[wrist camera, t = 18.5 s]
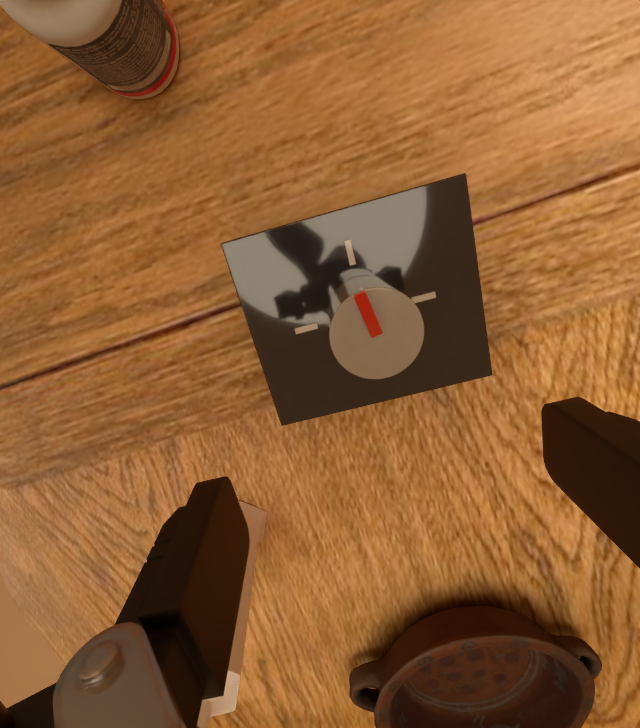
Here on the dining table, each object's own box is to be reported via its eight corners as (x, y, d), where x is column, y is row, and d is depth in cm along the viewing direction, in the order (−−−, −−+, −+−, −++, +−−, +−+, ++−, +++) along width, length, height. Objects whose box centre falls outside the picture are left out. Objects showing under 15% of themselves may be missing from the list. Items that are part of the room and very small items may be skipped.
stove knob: (411, 330, 23) (440, 359, 17) (345, 359, 24) (352, 396, 18) (384, 262, 22) (405, 270, 16) (315, 295, 22) (313, 313, 17)
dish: (583, 695, 38) (620, 761, 33) (366, 727, 39) (373, 794, 35) (579, 563, 32) (624, 618, 28) (329, 606, 34) (331, 665, 29)
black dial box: (285, 407, 28) (281, 427, 25) (232, 242, 24) (219, 243, 21) (474, 360, 27) (494, 376, 24) (448, 180, 23) (467, 172, 20)
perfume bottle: (283, 530, 31) (252, 772, 17) (238, 549, 32) (171, 797, 18) (256, 489, 30) (198, 713, 16) (209, 509, 31) (113, 742, 17)
